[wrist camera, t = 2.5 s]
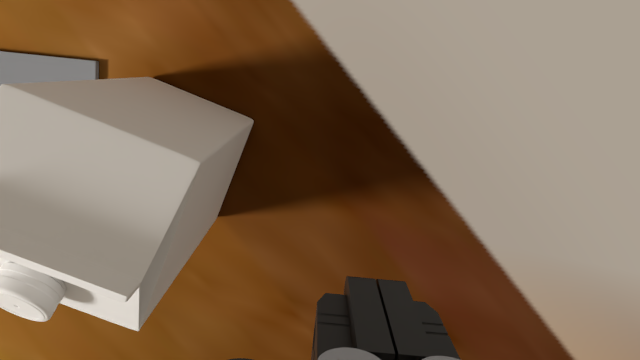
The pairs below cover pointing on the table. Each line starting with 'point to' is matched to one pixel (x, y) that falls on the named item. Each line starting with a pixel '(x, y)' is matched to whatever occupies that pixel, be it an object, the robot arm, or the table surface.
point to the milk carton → (107, 192)
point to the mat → (44, 68)
